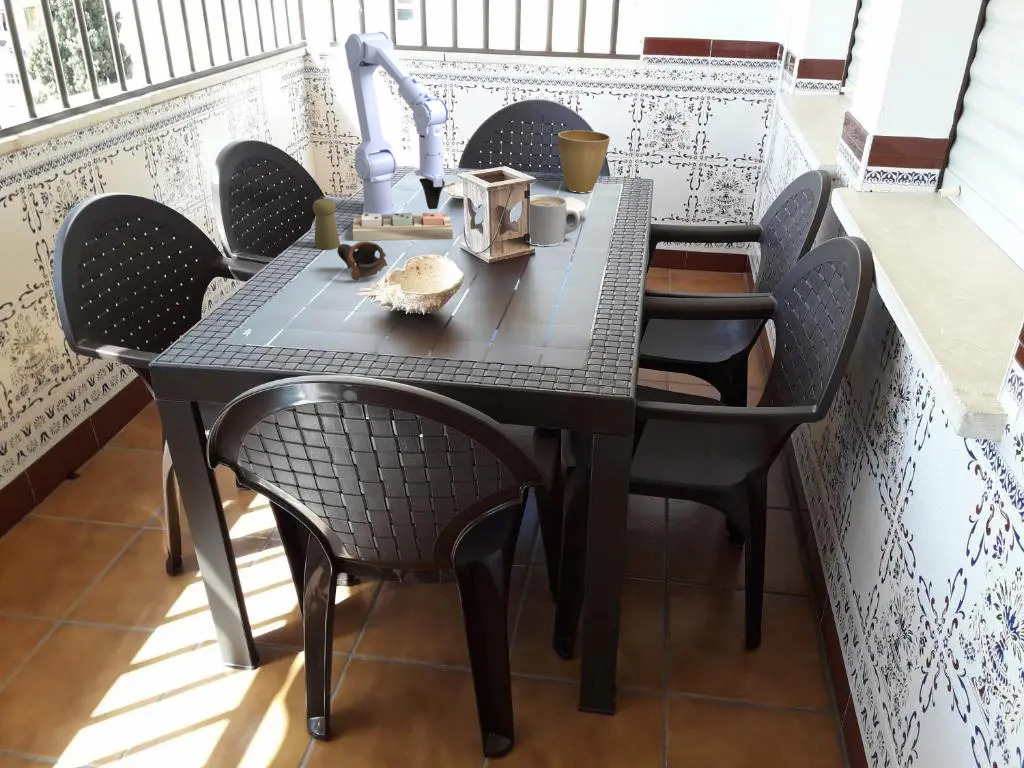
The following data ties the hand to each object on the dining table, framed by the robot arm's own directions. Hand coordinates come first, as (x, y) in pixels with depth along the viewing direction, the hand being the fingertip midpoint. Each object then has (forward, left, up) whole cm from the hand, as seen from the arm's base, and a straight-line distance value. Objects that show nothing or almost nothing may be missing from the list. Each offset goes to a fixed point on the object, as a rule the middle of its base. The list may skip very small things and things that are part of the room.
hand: (432, 208), depth 203 cm
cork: (+9, -26, -6) cm, 28 cm away
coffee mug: (+9, +28, -6) cm, 30 cm away
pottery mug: (+27, -17, -6) cm, 33 cm away
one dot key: (0, 0, -6) cm, 6 cm away
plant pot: (-35, +45, -6) cm, 58 cm away
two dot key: (0, -15, -6) cm, 16 cm away
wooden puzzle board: (0, -8, -6) cm, 10 cm away
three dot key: (0, -8, -6) cm, 10 cm away
